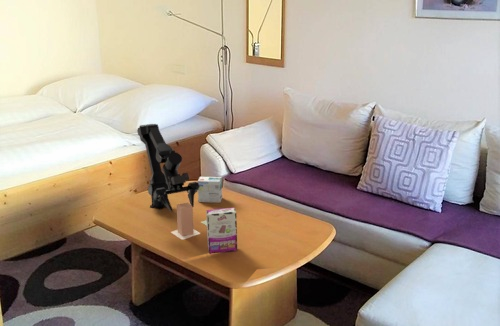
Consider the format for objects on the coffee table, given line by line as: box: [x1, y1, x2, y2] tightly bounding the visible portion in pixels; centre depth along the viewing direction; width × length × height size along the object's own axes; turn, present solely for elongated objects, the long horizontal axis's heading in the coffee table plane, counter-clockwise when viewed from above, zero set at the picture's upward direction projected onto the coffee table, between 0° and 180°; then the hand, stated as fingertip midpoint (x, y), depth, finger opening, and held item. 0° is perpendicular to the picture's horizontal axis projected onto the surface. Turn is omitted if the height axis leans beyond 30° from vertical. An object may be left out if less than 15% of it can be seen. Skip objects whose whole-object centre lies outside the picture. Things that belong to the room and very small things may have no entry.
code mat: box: [170, 219, 207, 241], centre depth 229 cm, size 26×15×1 cm, turn 130°
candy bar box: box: [205, 207, 238, 254], centre depth 210 cm, size 11×5×16 cm, turn 101°
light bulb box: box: [197, 176, 223, 204], centre depth 258 cm, size 11×7×11 cm, turn 84°
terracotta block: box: [176, 202, 195, 236], centre depth 222 cm, size 5×5×12 cm
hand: (182, 209), depth 224 cm, fingers open, 9 cm apart
